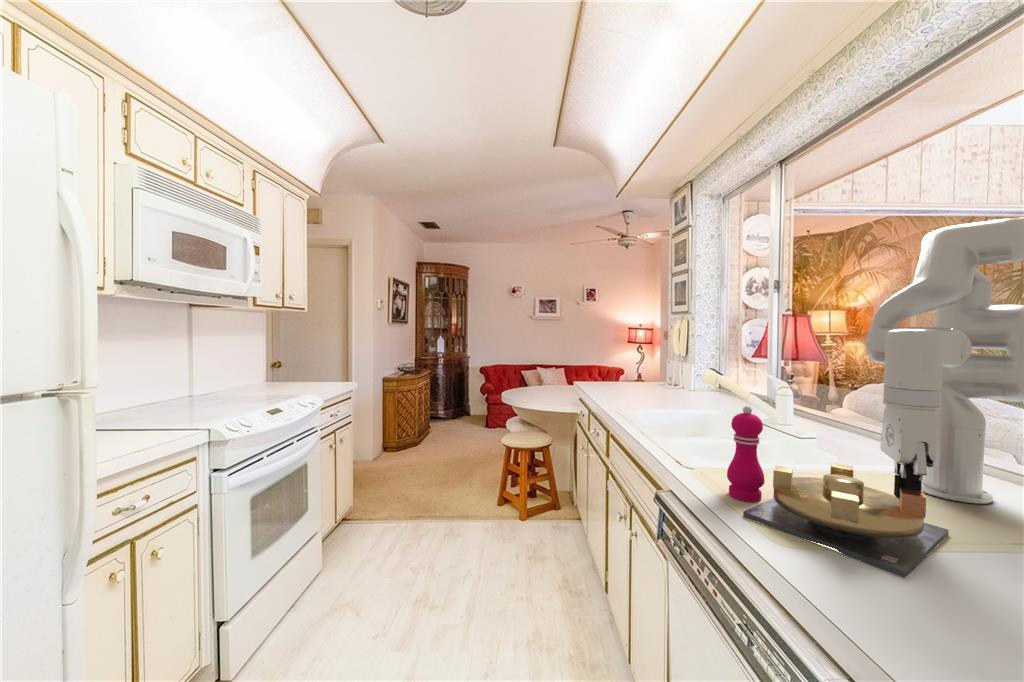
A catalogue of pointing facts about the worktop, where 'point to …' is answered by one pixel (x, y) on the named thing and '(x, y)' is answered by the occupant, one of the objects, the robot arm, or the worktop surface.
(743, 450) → the pepper mill
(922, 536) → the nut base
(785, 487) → the brass lugged disc
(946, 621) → the worktop surface
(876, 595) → the worktop surface
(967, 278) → the robot arm
